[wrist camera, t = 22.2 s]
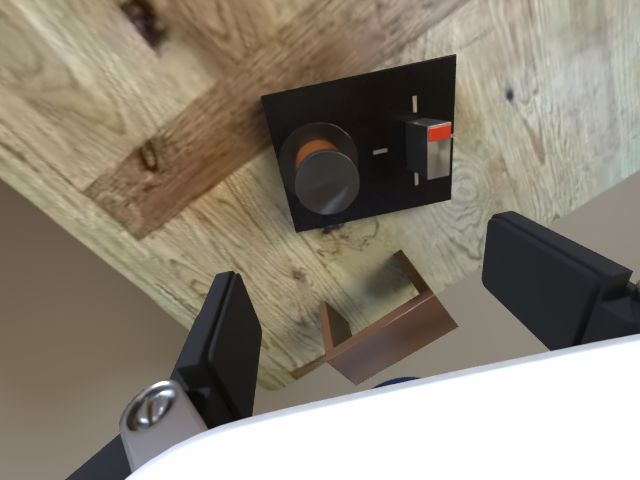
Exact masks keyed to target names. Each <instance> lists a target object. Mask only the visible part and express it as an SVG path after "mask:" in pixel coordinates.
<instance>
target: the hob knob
mask: <svg viewBox="0 0 640 480" xmlns="http://www.w3.org/2000/svg"><path fill="white" fill-rule="evenodd" d="M405 132H406V158H407V168H409V169H410V170H412V171H414V172H415V173H417V174H419V175H421V176H422V177H424V178H426V179H427V180H429V179H434V178H439V177H443V176H448V175H449V170H450V140H451V122H449V121H442V120H435V119H428V118H422V119H418V120H413V121H408V122H405Z"/></svg>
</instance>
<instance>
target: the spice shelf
mask: <svg viewBox="0 0 640 480" xmlns="http://www.w3.org/2000/svg"><path fill="white" fill-rule="evenodd" d="M394 256H395V257H396V259H397V260H398V262H399V263H400V265H401V266H402V268H403V269H404V271H405V273H406V274H407V276H408V277H409V279H410V280H411V282H412V283H413V285H414V286H415V288H416V289H417V291H418V292H419V295H417V296H416V297H414V298H413V299H411V300H409V301H408V302H406V303H405V304H403V305H401V306H400V307H398V308H397V309H395V310H393V311H392V312H390V313H389V314H387V315H386V316H384V317H382V318H381V319H379V320H378V321H376V322H374V323H373V324H371V325H370V326H368V327H366V328H365V329H363V330H362V331H360V332H358V333H357V334H355V335H354V336H352V334H351V330H350V326H349V323H348V322H347V321H345V320H344V319H343V318H342V317H341V316H340V315H339V314H338V313H337V312H336V311H335V310H334V309H333V308H332V307H331V306H330V305H329V304H328V303H327V302H326V301H325V302H323V303H322V304H320V305H319V310H320V317H321V324H322V332H323V339H324V346H325V354H326V361H327V363H329V364H330V365H331V366H332V367H334V368H335V369H336V370H337V371H339V372H340V373H341V374H342V375H344V376H345V377H346V378H347V379H349V380H350V381H351V382H352V383H353V384H355V385H356V386H357V385H358V384H360V383H362V382H363V381H365V380H367V379H369V378H370V377H372V376H374V375H376V374H377V373H379V372H381V371H382V370H384V369H386V368H388V367H389V366H391V365H393V364H395V363H396V362H398V361H400V360H402V359H403V358H405V357H407V356H408V355H410V354H412V353H413V352H415V351H417V350H419V349H421V348H422V347H424V346H425V345H427V344H429V343H431V342H433V341H434V340H436V339H438V338H440V337H441V336H443V335H445V334H446V333H448V332H450V331H452V330H453V329H455V328H457V327H458V325H457V324H456V323H455V321H454V320H453V319H452V318H451V316H450V315H449V313H448V312H447V310H446V309H445V308H444V306H443V305H442V304H441V302H440V301H439V300H438V298H437V297H436V296H435V294H434V293H433V291H432V290H431V289H430V287H429V286H428V285H427V283H426V282H425V281H424V279H423V278H422V277H421V275H420V274H419V273H418V271H417V270H416V269H415V267H414V266H413V265H412V263H411V262H410V261H409V259H408V258H407V257H406V255H405V254H404V253H403V251H402V250H399V251H398V252H397V253H395V254H394Z"/></svg>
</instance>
